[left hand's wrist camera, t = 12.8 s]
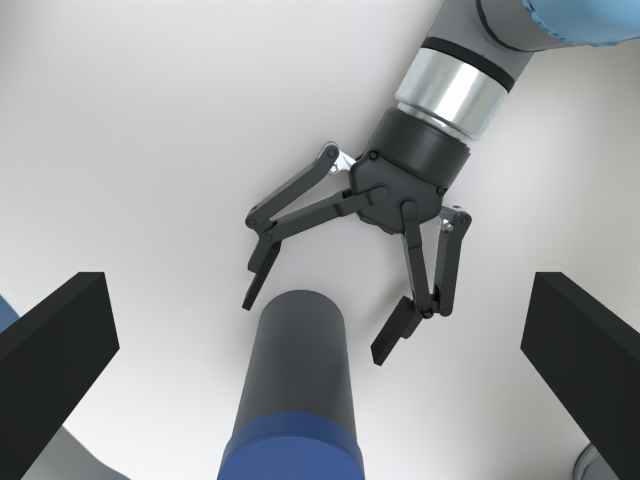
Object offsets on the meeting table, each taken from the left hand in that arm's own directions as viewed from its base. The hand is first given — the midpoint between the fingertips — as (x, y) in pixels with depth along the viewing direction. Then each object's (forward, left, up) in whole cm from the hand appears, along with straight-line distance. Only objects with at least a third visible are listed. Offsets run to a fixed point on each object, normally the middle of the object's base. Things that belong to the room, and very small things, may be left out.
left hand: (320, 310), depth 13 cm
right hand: (-7, -14, -23) cm, 27 cm away
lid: (-10, -17, -9) cm, 21 cm away
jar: (-10, -17, -29) cm, 35 cm away
